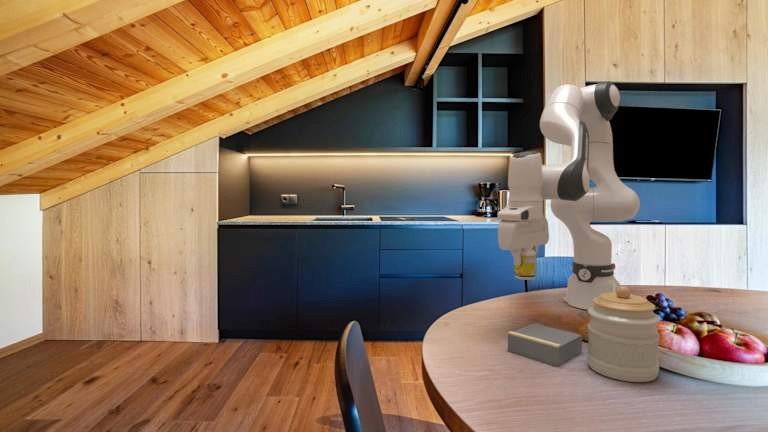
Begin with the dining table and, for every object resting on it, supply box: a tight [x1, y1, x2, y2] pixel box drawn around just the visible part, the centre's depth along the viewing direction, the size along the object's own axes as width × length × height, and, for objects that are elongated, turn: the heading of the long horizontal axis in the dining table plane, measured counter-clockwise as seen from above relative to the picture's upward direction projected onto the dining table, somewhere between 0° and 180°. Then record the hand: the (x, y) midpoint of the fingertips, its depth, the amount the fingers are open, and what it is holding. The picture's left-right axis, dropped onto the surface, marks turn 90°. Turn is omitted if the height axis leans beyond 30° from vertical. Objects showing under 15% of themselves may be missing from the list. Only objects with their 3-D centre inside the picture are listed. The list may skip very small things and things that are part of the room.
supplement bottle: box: [514, 242, 537, 281], centre depth 109 cm, size 5×5×10 cm
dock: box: [507, 323, 583, 367], centre depth 95 cm, size 12×12×4 cm
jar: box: [586, 285, 661, 383], centre depth 85 cm, size 13×13×18 cm
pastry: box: [577, 321, 590, 342], centre depth 104 cm, size 9×7×4 cm
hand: (524, 263), depth 109 cm, fingers closed on supplement bottle, 5 cm apart
